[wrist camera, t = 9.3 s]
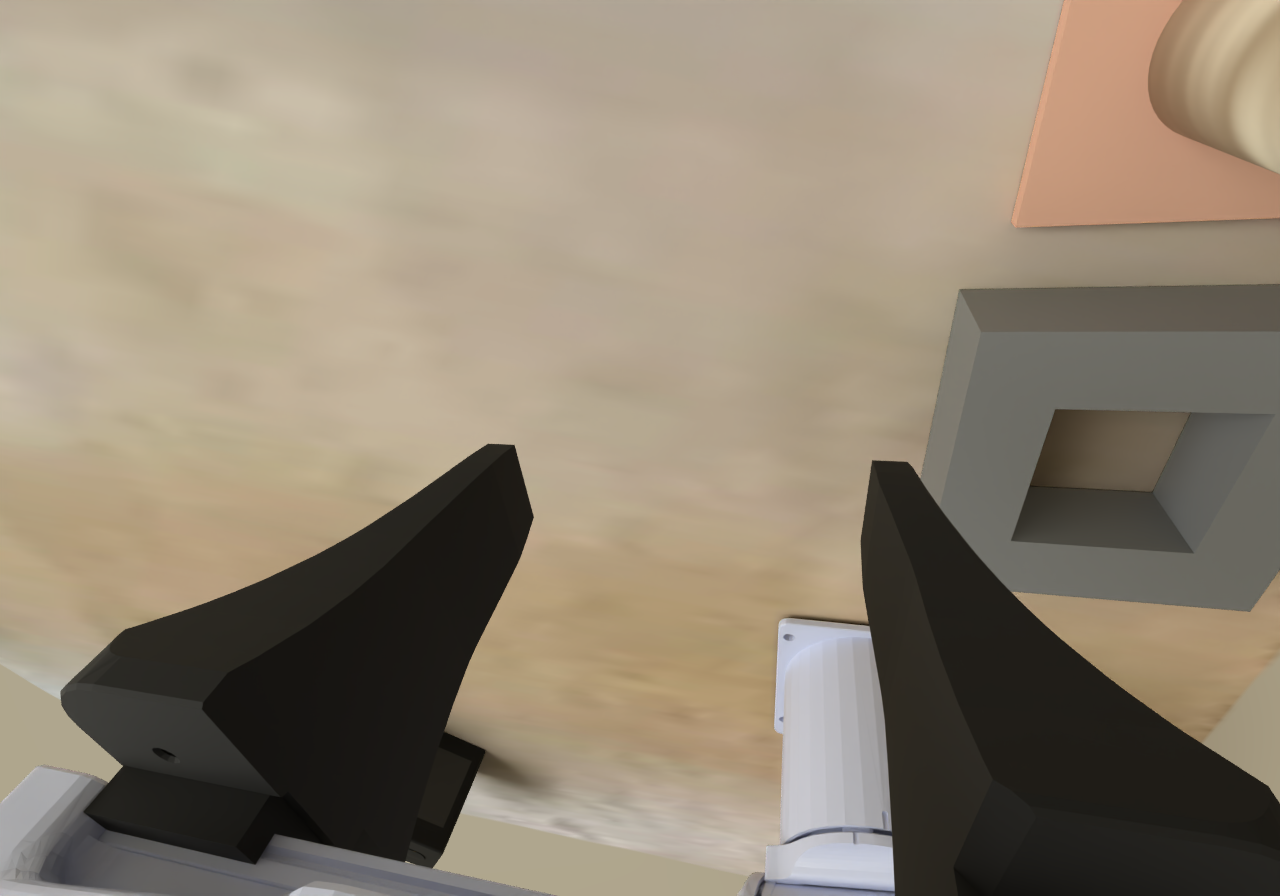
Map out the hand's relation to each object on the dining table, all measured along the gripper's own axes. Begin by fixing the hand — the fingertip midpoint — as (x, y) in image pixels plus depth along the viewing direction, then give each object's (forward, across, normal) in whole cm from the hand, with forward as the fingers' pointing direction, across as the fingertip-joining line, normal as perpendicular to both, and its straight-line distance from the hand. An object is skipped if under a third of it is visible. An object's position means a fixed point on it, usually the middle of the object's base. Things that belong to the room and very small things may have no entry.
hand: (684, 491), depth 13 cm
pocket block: (+10, -12, +5) cm, 17 cm away
